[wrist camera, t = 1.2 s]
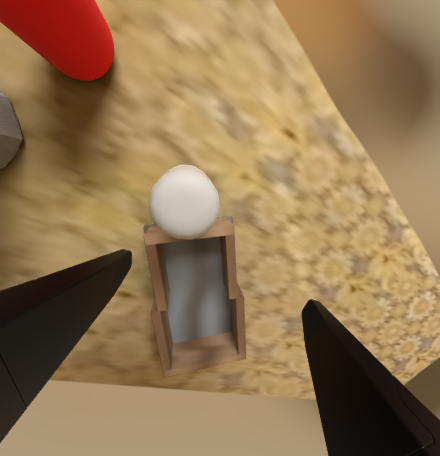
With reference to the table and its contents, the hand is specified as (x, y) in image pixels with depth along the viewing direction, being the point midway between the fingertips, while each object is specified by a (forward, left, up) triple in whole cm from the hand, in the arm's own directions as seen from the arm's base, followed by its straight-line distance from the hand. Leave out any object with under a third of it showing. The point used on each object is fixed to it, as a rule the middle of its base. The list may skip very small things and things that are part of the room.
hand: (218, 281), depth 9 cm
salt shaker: (-1, +3, -16) cm, 16 cm away
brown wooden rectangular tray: (-1, -10, -16) cm, 18 cm away
